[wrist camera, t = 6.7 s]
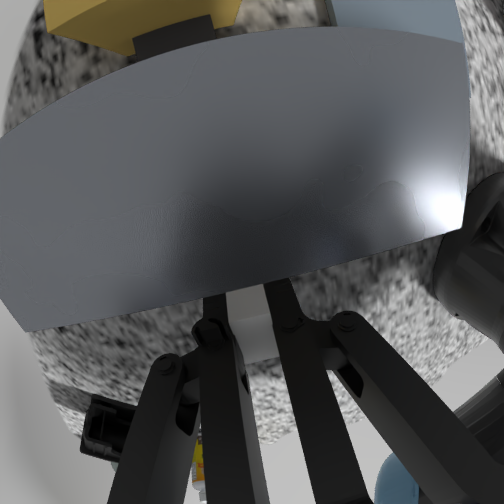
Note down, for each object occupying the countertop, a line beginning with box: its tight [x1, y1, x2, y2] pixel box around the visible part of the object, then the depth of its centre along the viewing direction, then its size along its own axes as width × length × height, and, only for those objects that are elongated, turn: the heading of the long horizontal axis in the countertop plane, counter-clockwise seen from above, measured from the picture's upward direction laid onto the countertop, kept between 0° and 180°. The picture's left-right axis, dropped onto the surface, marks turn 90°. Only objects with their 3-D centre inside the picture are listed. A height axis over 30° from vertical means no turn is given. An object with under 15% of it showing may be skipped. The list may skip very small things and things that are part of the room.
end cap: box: [80, 394, 137, 463], centre depth 25 cm, size 10×7×7 cm
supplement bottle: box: [191, 432, 207, 503], centre depth 28 cm, size 6×6×10 cm
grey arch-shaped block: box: [0, 27, 470, 332], centre depth 9 cm, size 10×4×11 cm, turn 102°
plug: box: [43, 0, 242, 62], centre depth 9 cm, size 6×14×8 cm, turn 12°
